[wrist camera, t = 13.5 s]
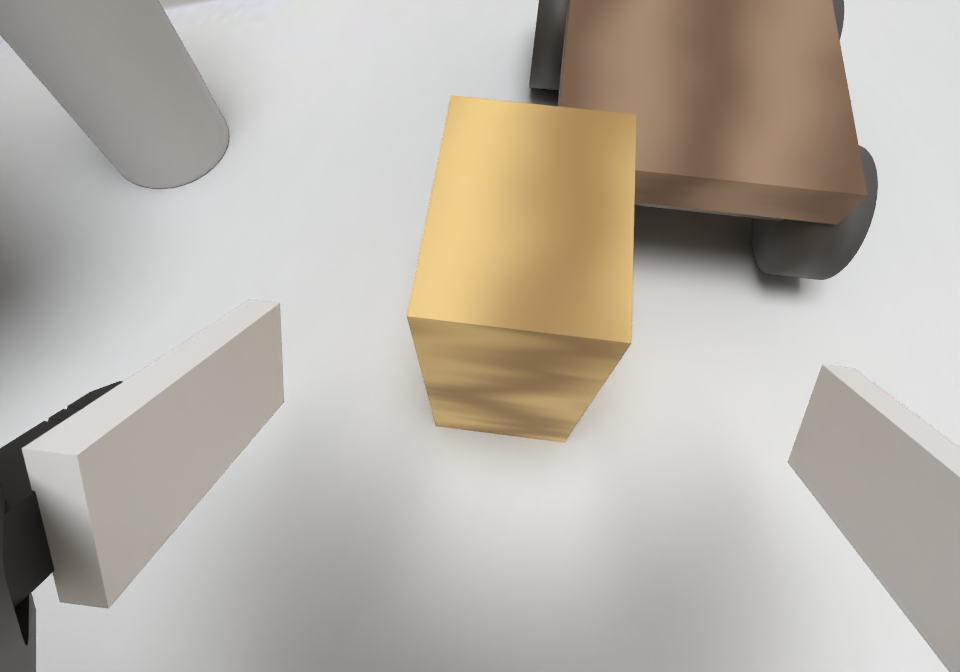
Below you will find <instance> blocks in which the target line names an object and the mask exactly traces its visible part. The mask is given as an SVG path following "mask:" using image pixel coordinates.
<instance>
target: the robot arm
mask: <svg viewBox="0 0 960 672" xmlns="http://www.w3.org/2000/svg"><path fill="white" fill-rule="evenodd" d="M283 403H284V389H283V365H282V341H281V318H280V303H277V302H268V301H259V300H250V299H249V300H248V301H246V302H245V303H243V304H242V305H240V306H238V307H237V308H235V309H234V310H232V311H231V312H229V313H228V314H226V315H225V316H223V317H222V318H220V319H219V320H217V321H216V322H214V323H212V324H211V325H209V326H208V327H206V328H205V329H203V330H202V331H200V332H199V333H197V334H196V335H194V336H193V337H191V338H190V339H188V340H187V341H185V342H183V343H182V344H180V345H179V346H177V347H176V348H174V349H173V350H171V351H170V352H168V353H167V354H165V355H164V356H162V357H161V358H159V359H157V360H156V361H154V362H153V363H151V364H150V365H148V366H147V367H145V368H144V369H142V370H141V371H139V372H138V373H136V374H135V375H133V376H132V377H130V378H128V379H127V380H125V381H124V382H122V381H119V382H116V383H113V384H111V385H108V386H105V387H103V388H100V389H97V390H94V391H92V392H89V393H88V394H86V395H85V396H83V397H81V398H80V399H78V400H77V401H75V402H74V403H72V404H70V405H69V406H68V408H67V409H62V410H61V411H59V412H58V413H56V414H54V415H53V416H51V417H50V418H49V420H48V422H47V421H43V422H42V423H40V424H39V425H37V426H35V427H34V428H32V429H31V430H29V431H27V432H26V433H24V434H23V435H21V436H19V437H18V438H16V439H15V440H13V441H11V442H10V443H8V444H7V445H5V446H3V447H2V448H0V672H36V608H35V605H34V601H33V597H32V594H31V592H32V591H33V590H34V589H35V588H36V587H37V586H39V585H40V584H41V583H42V582H43V581H44V580H45V579H46V578H47V577H48V576H49V575H50V574H51V573H52V572H53V576H54V580H55V584H56V588H57V592H58V596H59V600H60V602H64V603H71V604H78V605H86V606H93V607H101V608H108V609H109V608H110V606H111V605H112V604H113V603H114V602H115V600H116V599H117V598H118V597H119V596H120V595H121V593H122V592H123V591H124V590H125V589H126V587H127V586H128V585H129V584H130V583H131V582H132V580H133V579H134V578H135V577H136V576H137V575H138V573H139V572H140V571H141V570H142V569H143V567H144V566H145V565H146V564H147V563H148V562H149V560H150V559H151V558H152V557H153V556H154V555H155V553H156V552H157V551H158V550H159V549H160V547H161V546H162V545H163V544H164V543H165V542H166V540H167V539H168V538H169V537H170V536H171V534H172V533H173V532H174V531H175V530H176V529H177V527H178V526H179V525H180V524H181V523H182V522H183V520H184V519H185V518H186V517H187V516H188V514H189V513H190V512H191V511H192V510H193V509H194V507H195V506H196V505H197V504H198V503H199V501H200V500H201V499H202V498H203V497H204V496H205V494H206V493H207V492H208V491H209V490H210V489H211V487H212V486H213V485H214V484H215V483H216V481H217V480H218V479H219V478H220V477H221V476H222V474H223V473H224V472H225V471H226V470H227V469H228V467H229V466H230V465H231V464H232V463H233V461H234V460H235V459H236V458H237V457H238V456H239V454H240V453H241V452H242V451H243V450H244V448H245V447H246V446H247V445H248V444H249V443H250V441H251V440H252V439H253V438H254V437H255V436H256V434H257V433H258V432H259V431H260V430H261V428H262V427H263V426H264V425H265V424H266V423H267V421H268V420H269V419H270V418H271V417H272V416H273V414H274V413H275V412H276V411H277V410H278V408H279V407H280V406H281V405H282V404H283ZM788 464H789V465H790V466H791V467H792V469H793V470H794V471H795V473H796V474H797V475H798V476H799V478H800V479H801V480H802V482H803V483H804V484H805V486H806V487H807V488H808V489H809V491H810V492H811V493H812V495H813V496H814V497H815V498H816V500H817V501H818V502H819V504H820V505H821V506H822V508H823V509H824V510H825V511H826V513H827V514H828V515H829V517H830V518H831V519H832V521H833V522H834V523H835V524H836V526H837V527H838V528H839V530H840V531H841V532H842V533H843V535H844V536H845V537H846V539H847V540H848V541H849V543H850V544H851V545H852V546H853V548H854V549H855V550H856V552H857V553H858V554H859V556H860V557H861V558H862V559H863V561H864V562H865V563H866V565H867V566H868V567H869V568H870V570H871V571H872V572H873V574H874V575H875V576H876V578H877V579H878V580H879V581H880V583H881V584H882V585H883V587H884V588H885V589H886V590H887V592H888V593H889V594H890V596H891V597H892V598H893V600H894V601H895V602H896V603H897V605H898V606H899V607H900V609H901V610H902V611H903V613H904V614H905V615H906V616H907V618H908V619H909V620H910V622H911V623H912V624H913V625H914V627H915V628H916V629H917V631H918V632H919V633H920V635H921V636H922V637H923V638H924V640H925V641H926V642H927V644H928V645H929V646H930V647H931V649H932V650H933V651H934V653H935V654H936V655H937V657H938V658H939V659H940V660H941V662H942V663H943V664H944V666H945V667H946V668H947V670H948V671H949V672H960V447H959V446H958V445H957V444H955V443H954V442H953V441H951V440H950V439H949V438H947V437H946V436H945V435H943V434H942V433H941V432H939V431H938V430H937V429H935V428H934V427H933V426H931V425H930V424H929V423H927V422H926V421H925V420H923V419H922V418H921V417H919V416H918V415H917V414H915V413H914V412H913V411H911V410H910V409H909V408H907V407H906V406H905V405H903V404H902V403H901V402H899V401H898V400H897V399H895V398H894V397H893V396H891V395H890V394H889V393H887V392H886V391H885V390H883V389H882V388H881V387H879V386H878V385H877V384H875V383H874V382H873V381H871V380H870V379H868V378H867V377H866V376H864V375H863V374H862V373H860V372H859V371H858V370H856V369H855V368H847V367H838V366H829V365H822V367H821V370H820V373H819V375H818V378H817V381H816V384H815V387H814V390H813V392H812V395H811V398H810V401H809V404H808V406H807V409H806V412H805V415H804V418H803V421H802V423H801V426H800V429H799V432H798V435H797V437H796V440H795V443H794V446H793V449H792V451H791V454H790V457H789V460H788Z"/></svg>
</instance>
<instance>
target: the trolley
mask: <svg viewBox="0 0 960 672" xmlns="http://www.w3.org/2000/svg"><path fill="white" fill-rule="evenodd" d="M843 20H844V0H539V6H538V14H537V23H536V31H535V40H534V49H533V57H532V66H531V75H530V85H529V87H531V88H541V89H550V90H559V96H558V106H559V107H568V108H578V109H588V110H597V111H607V112H617V113H627V114H636V154H635V200H634V205H639V206H648V207H657V208H666V209H675V210H684V211H693V212H702V213H711V214H720V215H729V216H738V217H747V218H753V224H752V249H753V254H754V258H755V261H756V263H757V265H758V267H759V268H760V270H762V271H763V272H764V273H766V274H773V275H782V276H791V277H799V278H808V279H817V280H824V279H828V278H831V277H833V276H834V275H836V274H837V273H839V272H840V271H841V270H842V269H844V268H845V267H846V266H847V265H848V263H849V262H850V261H851V260H852V259H853V257H854V256H855V254H856V253H857V251H858V250H859V248H860V246H861V245H862V243H863V241H864V239H865V237H866V234H867V232H868V229H869V227H870V224H871V221H872V218H873V214H874V210H875V206H876V199H877V189H878V181H877V171H876V167H875V163H874V160H873V158H872V156H871V155H870V153H869V152H868V151H867V150H866V149H865V148H863V147H862V146H859V145H858V140H857V135H856V129H855V124H854V118H853V113H852V107H851V102H850V96H849V91H848V85H847V79H846V74H845V68H844V63H843V57H842V52H841V46H840V37H841V32H842V27H843Z"/></svg>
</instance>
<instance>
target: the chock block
mask: <svg viewBox="0 0 960 672" xmlns="http://www.w3.org/2000/svg"><path fill="white" fill-rule="evenodd" d="M635 154H636V114H627V113H617V112H607V111H597V110H588V109H578V108H568V107H559V106H549V105H539V104H529V103H520V102H510V101H500V100H490V99H481V98H471V97H461V96H452V95H451V98H450V103H449V108H448V113H447V118H446V123H445V128H444V133H443V138H442V143H441V148H440V153H439V158H438V163H437V168H436V173H435V178H434V183H433V188H432V193H431V198H430V203H429V208H428V213H427V218H426V223H425V228H424V233H423V238H422V243H421V248H420V253H419V258H418V263H417V268H416V273H415V278H414V283H413V288H412V293H411V298H410V303H409V308H408V313H407V318H408V322H409V326H410V330H411V334H412V337H413V341H414V345H415V349H416V352H417V356H418V360H419V364H420V368H421V371H422V375H423V379H424V383H425V386H426V390H427V394H428V398H429V402H430V405H431V409H432V413H433V417H434V421H435V424H436V426H441V427H448V428H456V429H464V430H472V431H479V432H487V433H495V434H503V435H510V436H518V437H526V438H534V439H541V440H549V441H557V442H565V440H566V439H567V437H568V436H569V434H570V433H571V431H572V430H573V429H574V427H575V426H576V424H577V423H578V421H579V420H580V418H581V417H582V415H583V414H584V412H585V411H586V409H587V408H588V406H589V405H590V403H591V402H592V401H593V399H594V398H595V396H596V395H597V393H598V392H599V390H600V389H601V387H602V386H603V384H604V383H605V381H606V380H607V378H608V377H609V375H610V374H611V373H612V371H613V370H614V368H615V367H616V365H617V364H618V362H619V361H620V359H621V358H622V356H623V355H624V353H625V352H626V350H627V349H628V347H629V346H630V345H631V338H632V292H633V246H634V200H635Z"/></svg>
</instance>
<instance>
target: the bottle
mask: <svg viewBox="0 0 960 672" xmlns="http://www.w3.org/2000/svg"><path fill="white" fill-rule="evenodd" d="M0 35H1V36H2V37H3V39H4V40H5V41H6V42H7V43H8V44H9V45H10V47H11V48H12V49H13V50H14V51H15V52H16V54H17V55H18V56H19V57H20V58H21V59H22V61H23V62H24V63H25V64H26V65H27V66H28V67H29V69H30V70H31V71H32V72H33V73H34V74H35V76H36V77H37V78H38V79H39V80H40V81H41V82H42V84H43V85H44V86H45V87H46V88H47V89H48V91H49V92H50V93H51V94H52V95H53V96H54V97H55V99H56V100H57V101H58V102H59V103H60V104H61V106H62V107H63V108H64V109H65V110H66V111H67V113H68V114H69V115H70V116H71V117H72V118H73V119H74V121H75V122H76V123H77V124H78V125H79V126H80V128H81V129H82V130H83V131H84V132H85V133H86V134H87V136H88V137H89V138H90V139H91V140H92V141H93V142H94V144H95V145H96V146H97V147H98V148H99V149H100V150H101V151H102V153H103V154H104V155H105V156H106V157H107V158H108V159H109V160H110V162H111V163H112V164H113V165H114V166H115V167H116V168H117V169H118V171H119V172H120V173H121V174H122V175H123V176H124V178H126V179H128V180H129V181H131V182H133V183H135V184H137V185H140V186H143V187H148V188H159V189H163V188H172V187H176V186H181V185H184V184H187V183H190V182H191V181H193V180H196V179H198V178H200V177H202V176H203V175H205V174H206V173H207V172H208V171H209V170H211V169H213V168H214V166H215V165H216V164H217V163H218V162H219V161H220V159H221V158H222V157H223V155H224V153H225V151H226V149H227V145H228V142H229V130H228V127H227V124H226V121H225V119H224V117H223V116H222V114H221V112H220V111H219V109H218V107H217V105H216V103H215V101H214V99H213V97H212V96H211V94H210V92H209V90H208V88H207V86H206V84H205V83H204V81H203V79H202V77H201V75H200V73H199V72H198V70H197V68H196V66H195V64H194V63H193V61H192V59H191V57H190V56H189V54H188V52H187V50H186V48H185V47H184V45H183V43H182V41H181V40H180V38H179V36H178V34H177V32H176V31H175V29H174V27H173V25H172V24H171V22H170V20H169V18H168V16H167V15H166V13H165V11H164V9H163V8H162V6H161V4H160V2H159V0H0Z"/></svg>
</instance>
